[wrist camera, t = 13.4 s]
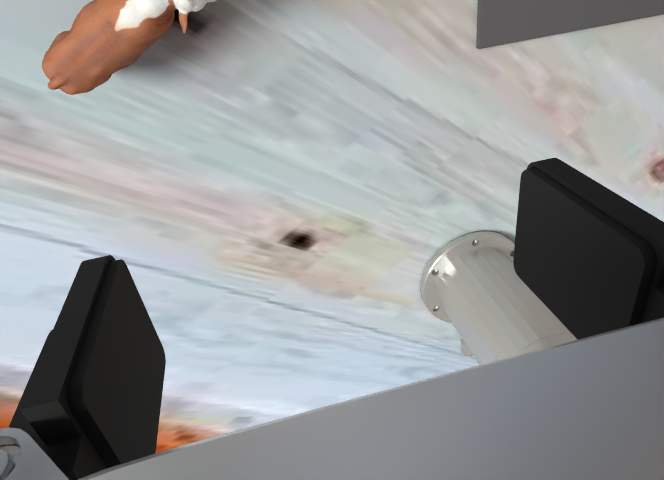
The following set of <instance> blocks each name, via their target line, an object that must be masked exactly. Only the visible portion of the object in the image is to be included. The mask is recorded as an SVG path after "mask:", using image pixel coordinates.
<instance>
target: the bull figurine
mask: <svg viewBox="0 0 664 480" xmlns="http://www.w3.org/2000/svg"><path fill="white" fill-rule="evenodd" d="M215 1H217V0H94V1H92V2H90V3H89V4H87V5H86V6H85V7H83V9H82V10H81V11H80V12H79V14H78V15H77V17H76V19H75V21H74V23H73V25H72V28H71V30H70V31H64V32H62V33H60V34H59V35H58V36H57V37H56V38H55V39H54V41H53V43H52V44H51V46H50V48H49V50H48V51H47V52H46V54H45V56H44V59H43V62H42V69H43V71H44V73H45V75H46V76H47V77H48V78H49V79H50V82H49V83H48V87H49V88H50V89H52V90H54V89H58V88H59V89H60V90H62V91H63V92H65V93H67V94H71V95H74V94H79V93H85V92H89V91H91V90H93V89H94V88H96V87H97V86H99V85H101V84H103V83H105V82H106V81H107V80H108V79H109V78H110V77H111V75H112V74H113V73H114V72H116V71H118V70H120V69H122V68H125V67H127V66H129V65H131V64H132V63H134V62H135V61H136V60H137V59H138V57H139V56H140V55H141V54H142V53H143V52H144V51H145V50H146V49H147V48H148V47H149V46H151V45H152V44H153V43H154V42H155V41H156V40H157V39H158V38H159V37H160V36H162V35H163V34H164V33H165V32H166V30H167V29H168V28H169V27H170V26H171V24H172V23H173V21H174V10H176V9H178V10H179V21H180V24H181V27H182V32H183V33H186V29H187V17H188V14H189V12H190V11H194V12H197V11H199V10H201V9H202V8H203V7H204V6H205V4H206V3H207V2H215Z"/></svg>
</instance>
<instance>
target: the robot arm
mask: <svg viewBox="0 0 664 480" xmlns="http://www.w3.org/2000/svg"><path fill="white" fill-rule="evenodd" d="M421 296H422V299H423V301H424V304H425V305H426V307H427V308H428V310H429V311H430V312H431V313H432V314H433V315H434V316H435V317H437V318H439V319H440V320H443V321H446V322H452V323H453V325H454V326H455V328H456V329H457V331H458V333H459V334H460V336H461V337H462V338H461V352H462V353H463V354H464V355H466V356H474V357H475V359H476V360H477V362H478V364H479V366H475V367H471V368H468V369H464V370H460V371H456V372H453V373H449V374H445V375H441V376H437V377H434V378H430V379H426V380H422V381H419V382H415V383H411V384H407V385H404V386H400V387H396V388H393V389H389V390H385V391H381V392H378V393H374V394H370V395H366V396H363V397H359V398H355V399H351V400H348V401H344V402H340V403H337V404H333V405H329V406H326V407H322V408H318V409H315V410H311V411H307V412H304V413H300V414H296V415H293V416H289V417H285V418H282V419H278V420H274V421H271V422H267V423H263V424H260V425H256V426H252V427H249V428H245V429H241V430H237V431H234V432H230V433H226V434H223V435H219V436H216V437H212V438H208V439H205V440H201V441H197V442H194V443H190V444H186V445H183V446H179V447H175V448H172V449H169V450H166V451H162V452H159V453H156V454H155V451H156V443H157V434H158V425H159V416H160V407H161V399H162V390H163V381H164V372H165V362H166V360H165V353H164V349H163V346H162V344H161V342H160V340H159V337H158V335H157V333H156V331H155V328H154V326H153V324H152V322H151V319H150V317H149V315H148V313H147V310H146V308H145V306H144V304H143V301H142V299H141V297H140V295H139V292H138V290H137V288H136V286H135V283H134V281H133V279H132V277H131V274H130V272H129V270H128V268H127V265H126V264H125V262H124V261H123V260H122V259H121V260H115V259H114V257H113V256H111V255H109V256H104V257H99V258H95V259H90V260H86V261H83V262H82V263H81V265H80V267H79V270H78V272H77V274H76V277H75V279H74V281H73V284H72V286H71V289H70V291H69V293H68V296H67V298H66V300H65V303H64V305H63V308H62V310H61V312H60V315H59V317H58V319H57V322H56V324H55V327H54V329H53V330H51V332H50V333H49V335H48V337H47V339H46V341H45V344H44V346H43V348H42V351H41V353H40V355H39V358H38V360H37V362H36V365H35V367H34V369H33V372H32V374H31V376H30V379H29V381H28V383H27V386H26V388H25V390H24V393H23V395H22V397H21V400H20V402H19V404H18V407H17V409H16V411H15V414H14V416H13V418H12V421H11V423H10V425H9V427H8V428H3V429H0V480H664V222H663V221H661V220H659V219H658V218H656V217H654V216H653V215H651V214H649V213H648V212H646V211H644V210H643V209H641V208H639V207H638V206H636V205H634V204H633V203H631V202H629V201H628V200H626V199H624V198H623V197H621V196H619V195H618V194H616V193H614V192H613V191H611V190H609V189H608V188H606V187H604V186H603V185H601V184H599V183H598V182H596V181H594V180H593V179H591V178H589V177H588V176H586V175H584V174H583V173H581V172H579V171H578V170H576V169H574V168H573V167H571V166H569V165H568V164H566V163H564V162H563V161H561V160H559V159H557V158H551V159H546V160H541V161H537V162H532V163H530V164H529V165H528V167H527V170H524V171H523V172H522V174H521V181H520V192H519V203H518V214H517V225H516V236H515V244H514V243H513V242H512V241H511V240H510V239H508V238H507V237H506V236H504V235H501V234H499V233H495V232H489V231H485V232H475V233H470V234H467V235H464V236H461V237H459V238H457V239H455V240H453V241H451V242H450V243H448V244H447V245H446V246H444V247H443V248H442V249H441V250H440V251H439V252H438V253H437V254H436V255H435V256H434V257H433V258H432V259H431V261H430V262H429V264H428V265H427V267H426V269H425V271H424V273H423V277H422V280H421Z"/></svg>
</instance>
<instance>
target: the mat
mask: <svg viewBox="0 0 664 480" xmlns="http://www.w3.org/2000/svg"><path fill="white" fill-rule="evenodd" d="M661 14H664V0H478V14H477V47H476V48H478V49H481V48H487V47H492V46H497V45H503V44H508V43H513V42H518V41H524V40H529V39H534V38H540V37H545V36H550V35H555V34H561V33H566V32H571V31H577V30H582V29H587V28H592V27H598V26H603V25H608V24H614V23H619V22H624V21H629V20H635V19H640V18H645V17H651V16H656V15H661Z"/></svg>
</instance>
